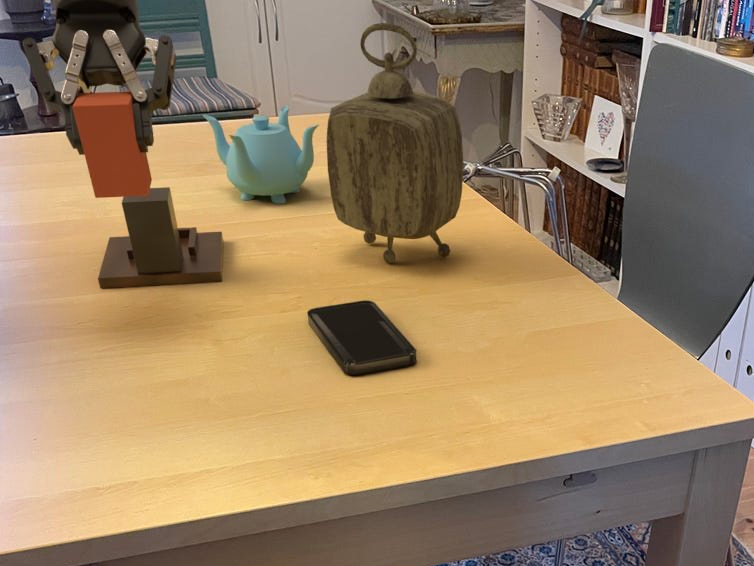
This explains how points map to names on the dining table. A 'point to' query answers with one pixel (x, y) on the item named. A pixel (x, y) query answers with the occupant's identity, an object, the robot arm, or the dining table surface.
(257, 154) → the teapot
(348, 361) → the phone
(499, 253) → the dining table surface
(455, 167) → the tabletop clock
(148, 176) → the terracotta block
